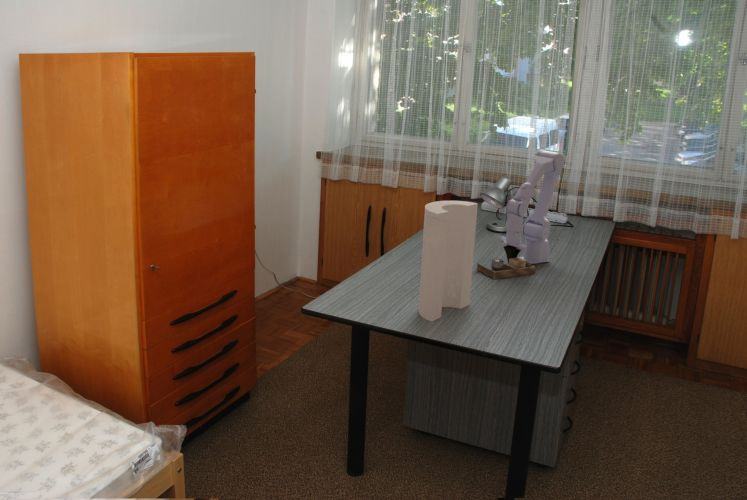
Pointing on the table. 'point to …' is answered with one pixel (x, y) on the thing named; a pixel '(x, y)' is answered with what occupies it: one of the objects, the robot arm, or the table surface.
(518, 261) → the maple block
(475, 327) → the table surface
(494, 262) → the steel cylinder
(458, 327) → the table surface
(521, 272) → the rack
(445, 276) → the white curved column
